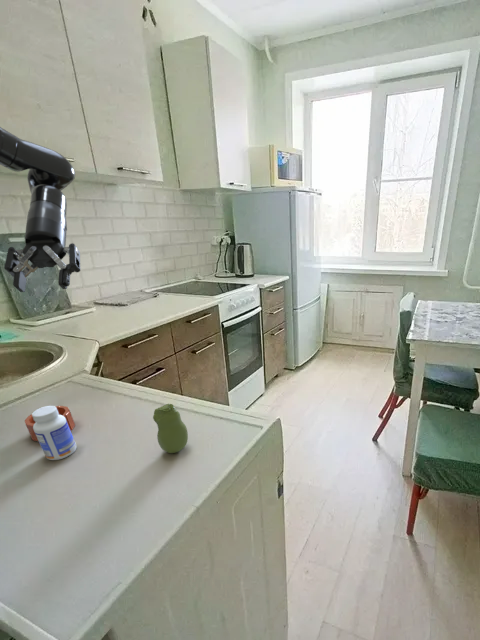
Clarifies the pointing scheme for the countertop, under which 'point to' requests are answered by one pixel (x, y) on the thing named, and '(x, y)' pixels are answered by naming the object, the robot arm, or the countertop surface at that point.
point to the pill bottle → (53, 433)
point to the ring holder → (62, 411)
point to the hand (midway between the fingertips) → (41, 288)
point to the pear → (170, 429)
